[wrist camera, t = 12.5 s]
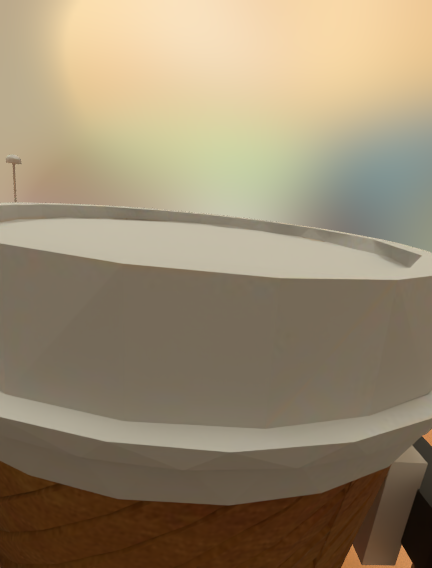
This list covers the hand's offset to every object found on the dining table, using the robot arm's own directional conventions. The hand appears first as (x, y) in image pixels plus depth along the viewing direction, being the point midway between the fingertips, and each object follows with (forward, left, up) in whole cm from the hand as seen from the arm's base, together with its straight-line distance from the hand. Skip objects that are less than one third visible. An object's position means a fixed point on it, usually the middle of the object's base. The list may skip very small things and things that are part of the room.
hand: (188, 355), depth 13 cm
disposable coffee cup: (-3, -4, -7) cm, 8 cm away
